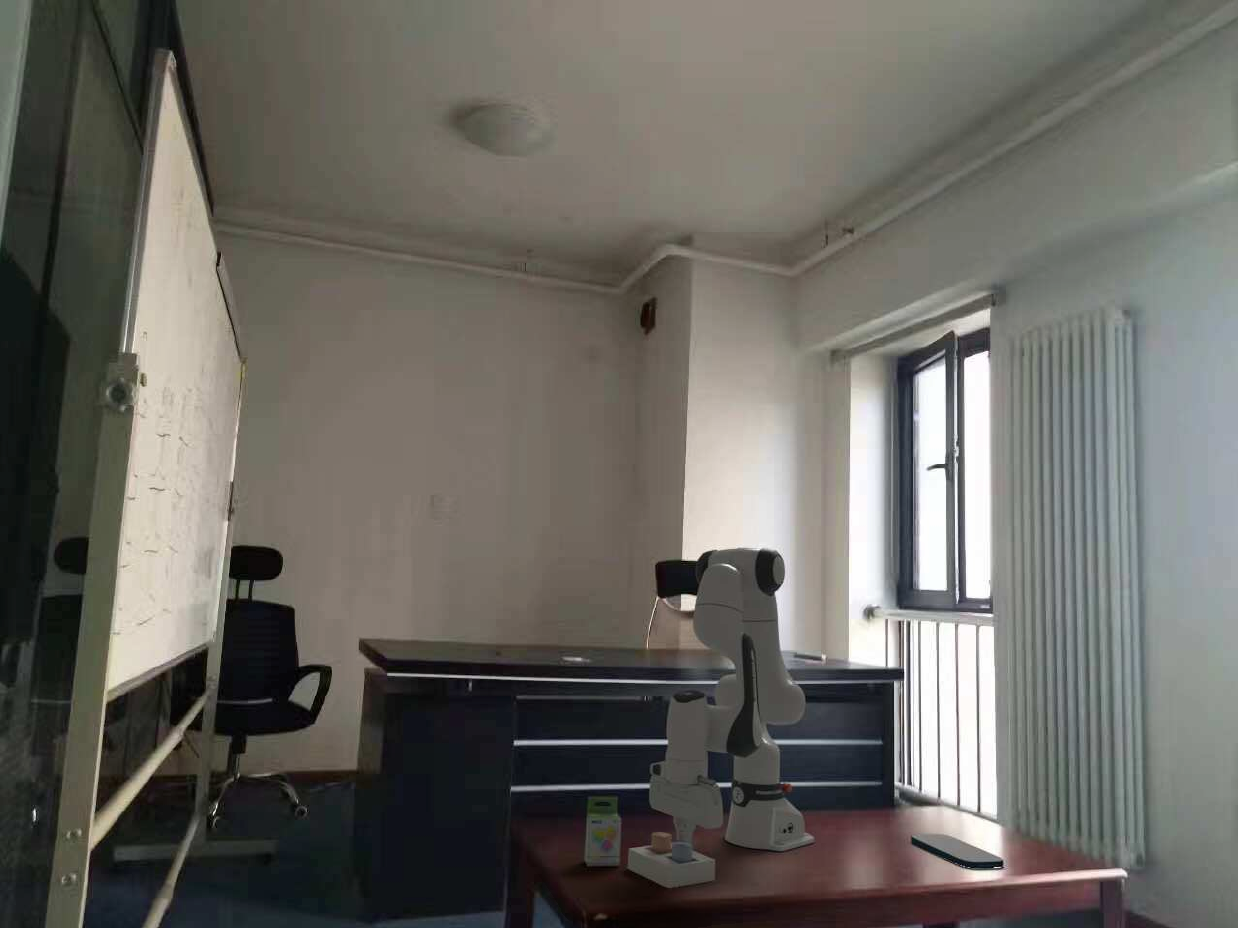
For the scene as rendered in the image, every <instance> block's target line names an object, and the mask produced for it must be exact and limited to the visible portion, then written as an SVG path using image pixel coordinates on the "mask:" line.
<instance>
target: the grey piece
mask: <svg viewBox="0 0 1238 928" xmlns="http://www.w3.org/2000/svg"><path fill="white" fill-rule="evenodd" d="M672 843H673V844H672V861H675V862H677V863H679V864H682V863H688V862H692V850H693V848H694V846H693V843H684V842H682V841H676V842H675V841H674V842H672ZM693 851H694V850H693Z"/></svg>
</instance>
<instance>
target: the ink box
mask: <svg viewBox="0 0 1238 928" xmlns="http://www.w3.org/2000/svg"><path fill="white" fill-rule="evenodd" d="M618 801H619V797H618V796H588V797H587V809H586V810H587V811H586V827H585V828H586V829H585V840H584V842H585V843H584V859H583V860H584V863H585V864H586V866H587V867H619V866H620V863H621V862H620V860H621V859H620V857H621V856H620V855H621V838H622V837H621V836H622V835H621V834H622V818H621V817H620V815H619V814H618V803H619V802H618ZM600 802H606V803H609V804H610V805H607V806H604V805H603V806H601V805H599V806H598V805H595V804H596V803H597V804H598V803H600Z"/></svg>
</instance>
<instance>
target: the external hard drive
mask: <svg viewBox="0 0 1238 928" xmlns="http://www.w3.org/2000/svg"><path fill="white" fill-rule="evenodd" d="M910 842H911V844H912V845H915V846H916V847H918V848H920V849H922V850H924V851H926V850H927V851H926V852H928V851H929V853H931V854H933V855H935V856H937V855H939V856H941V857H943V858H946V859H948V860H950V861H952V862H954V863H957V864H959V865H962V866H965V867H970V868H994V867H1002V866H1003V867H1004V859H1003V858H1002V857H1000V856H997V855H996V854H994V853H991V852H988V850H987V851H986V850H984V849H982V848H979V847H977V846H974V845H972V844H970V843H967V842H965V841H963V840H961V839H958V838H957V837H953V836H951V835H948V834H942V833H941V834H940V833H920V834H918V833H917V834H911V836H910ZM939 856H938V857H939ZM941 857H940V858H941ZM943 858H942V859H943ZM948 860H947V861H948ZM950 861H949V862H950ZM952 862H951V863H952ZM954 863H953V864H954Z"/></svg>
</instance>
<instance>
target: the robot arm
mask: <svg viewBox="0 0 1238 928" xmlns="http://www.w3.org/2000/svg"><path fill="white" fill-rule="evenodd" d="M785 575H786V567H785V561H784V559H783V557H782V555H781V554H780V553H779V552H778V551H777V550H775V549H772V548H768V547H762V548H757V547H737V548H726V549H719V550H718V549H711V550H708V551H705V552H702V554H701V555H700V556H699V557H698V558H697V561H696V564H695V579H696V581H697V584H698V585H699V586H698V590H697V594H696V598H695V605H694V609H693V611H694V612H693V618H692V620H693V621H692V623H693V624H692V628H693V631H694V634H695V636H696V638H697V639H698V641H699V642H700V643H701V644H702V645H704V646H705V647H707V648H708V649H710V650H711V651H713V652H715V653H718V654H719V655H722V656H723V657H725V658H726V659H728V660H730V661H731V662H732V663H733V666H734V668H735V673H733V674H726V675H724V676H722V677H721V678H719V680H718V681H717V682H716V686H715V688H714V696H713V697H714V702H715V704H716V705H714V704H713V705H712V704H709V703H708V698H707V696H706V694H705V693H704V692H702V691H700V690H689V689H687V690H679V691H677V692H675V693H673V694H672V695H671V697H670V700H669V705H668V711H667V718H666V739H667V748H666V752H665V760H662V761H659V762H654V763H651V764H650V766H649V772H650V774H651V775H652V776H651V777H650V780H649V793H648V799H649V804H650V806H651V809H652V810H653V809H654V810H656V811H659V812H661V813H663V814H667V815H669V816H671V817H672V822H673V824H674V827H675V831H676V840H677V841H679V842H684V843H690V844H692V842H693V833H694V831H695V830H696V828H697V827H698V826H699V827H701V828H704V829H707V830H714V829H719V828H721V827H722V825H723V823H724V811H723V810H724V809H723V798H722V794H721V787H719V785H718V784H717V782H716V780H714V779H712V778H708V771H709V768H708V767H709V765H708V763H709V758H708V757H709V755H708V752H714V753H721V754H728V755H731V756H733V777H732V778H731V784H730V785H731V786H730V787H731V788H730V789H731V790H730V791H731V792H730V793H731V802H730V803H731V804H730V805H731V806H730V809H729V817H728V818H729V819H728V823H727V828H726V830H725V831H726V832H725V836H724V840H725V841H727V842H728V843H731V844H734V845H737V846H740V847H744V848H750V849H756V850H757V849H759V850H769V851H776V852H785V851H788V850H789V851H790V850H791V849H795V848H799V847H802V846H806V845H810V844H812V843H815V837H814V836H813V835H811V834H809V833H808V832H805V831H806V830H805V821H804V816H803V814H802V813H801V811H799V810H798V809H797V808H796V807H795V806H794V805H793V804H792V803H791V802H790V801H789V800H787V798H786V797H785V792H787V793H791V792H792V790H793V785H792V784H791V783H788V782H783V783H782V782H781V781H780V773H781V771H780V766H781V763H780V761H781V752H780V751H781V750H780V748H779V746H778V744H777V743H776V741H774V740H773V738H772V737H771V735H770V733H769V732H768V729H767V726H766V724H769V725H773V726H786V725H795V724H796V723H798V722H799V721H801V719H802V717H803V715H804V713H805V710H806V696H805V693H804V691H803V689H802V688H801V686H800V685H798V684H797V683H796V682H795V680H794V679H793V677H792V676H791V674H790V672H789V671H788V669H787V666H786V664H785V662H784V658H783V656H782V651H781V645H780V631H779V630H780V629H779V611H778V603H777V596H776V592H778V591H779V590H780V588H781V587H782V585H783V584H784V581H785Z"/></svg>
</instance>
